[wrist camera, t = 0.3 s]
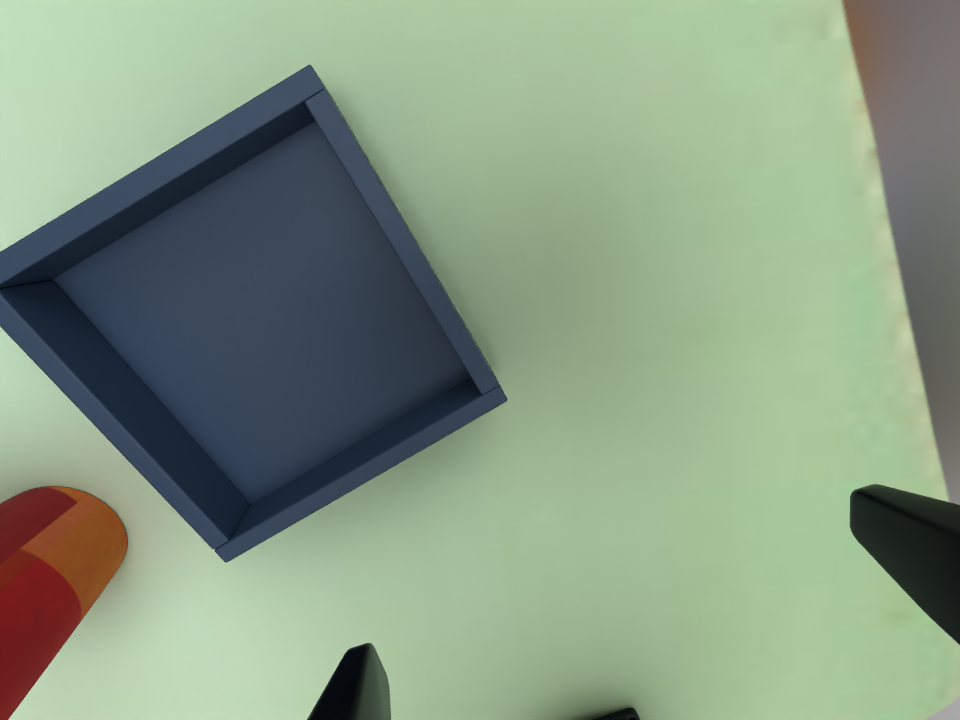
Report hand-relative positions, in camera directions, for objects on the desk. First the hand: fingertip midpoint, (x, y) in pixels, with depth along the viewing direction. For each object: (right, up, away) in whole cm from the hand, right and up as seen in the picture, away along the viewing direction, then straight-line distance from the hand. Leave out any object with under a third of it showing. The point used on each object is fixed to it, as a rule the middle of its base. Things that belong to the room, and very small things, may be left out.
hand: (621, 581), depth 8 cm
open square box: (-11, +5, +12) cm, 17 cm away
